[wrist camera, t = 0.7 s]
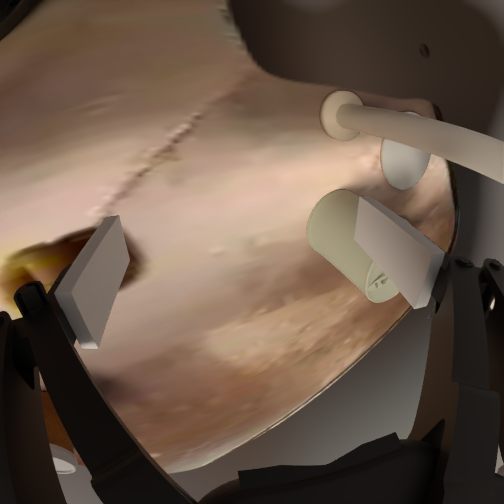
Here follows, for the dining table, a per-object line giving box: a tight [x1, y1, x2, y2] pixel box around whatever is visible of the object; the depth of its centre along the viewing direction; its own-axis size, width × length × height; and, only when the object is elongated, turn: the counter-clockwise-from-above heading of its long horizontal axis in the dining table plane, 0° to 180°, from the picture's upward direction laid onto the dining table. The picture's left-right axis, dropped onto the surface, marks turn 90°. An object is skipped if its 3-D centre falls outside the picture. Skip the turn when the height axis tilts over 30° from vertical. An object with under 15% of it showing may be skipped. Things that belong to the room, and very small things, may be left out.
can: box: [307, 190, 421, 303], centre depth 32 cm, size 9×9×12 cm
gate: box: [320, 91, 504, 309], centre depth 25 cm, size 29×6×28 cm, turn 38°
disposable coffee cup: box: [41, 392, 78, 474], centre depth 28 cm, size 10×10×12 cm
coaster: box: [381, 112, 431, 190], centre depth 35 cm, size 12×12×1 cm
